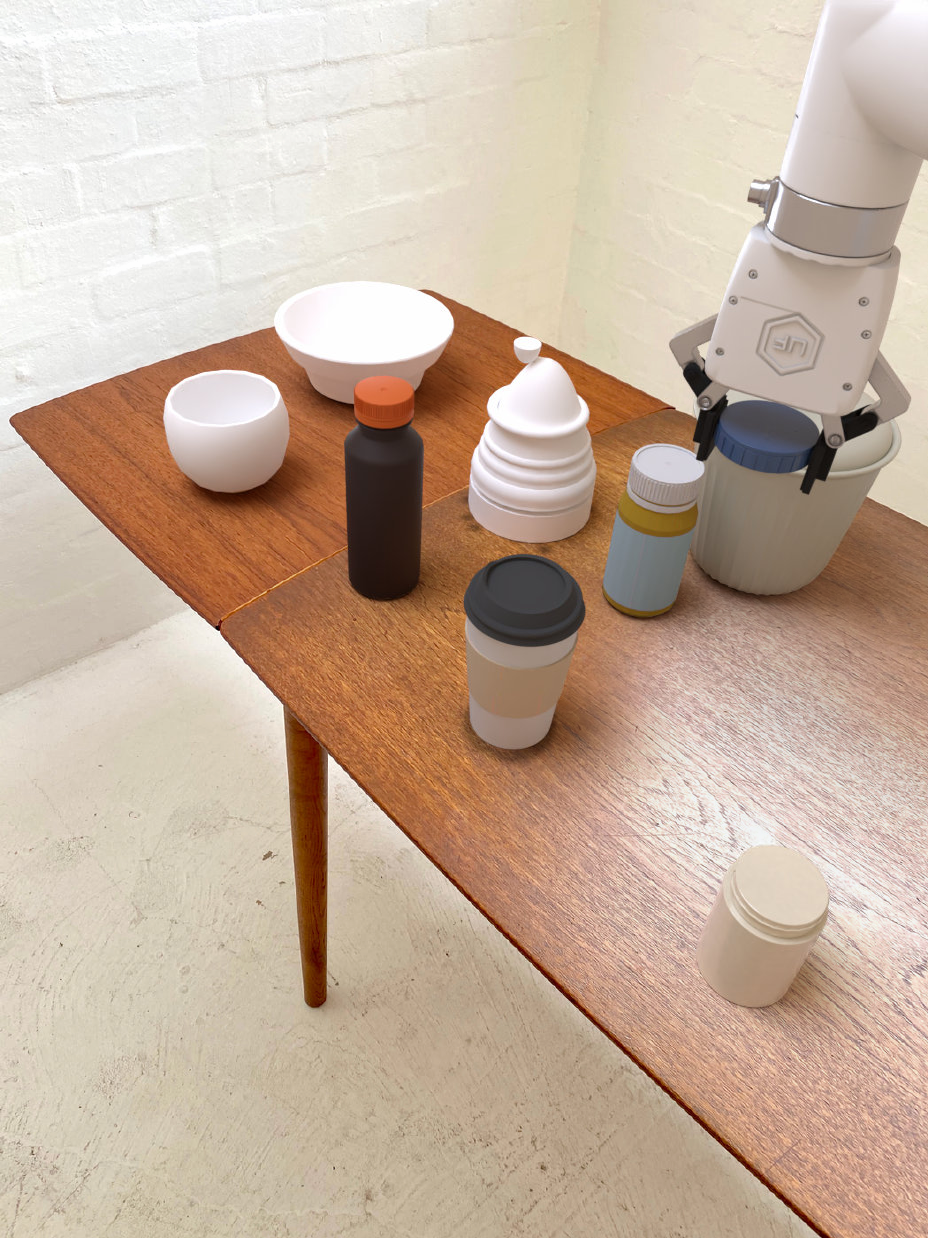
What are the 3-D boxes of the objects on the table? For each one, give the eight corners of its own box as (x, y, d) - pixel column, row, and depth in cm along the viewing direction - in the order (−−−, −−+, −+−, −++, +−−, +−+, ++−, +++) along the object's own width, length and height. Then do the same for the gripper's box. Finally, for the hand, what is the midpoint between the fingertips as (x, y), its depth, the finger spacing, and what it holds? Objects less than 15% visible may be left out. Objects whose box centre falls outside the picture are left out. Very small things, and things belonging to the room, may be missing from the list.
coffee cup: (574, 691, 83) (599, 554, 73) (552, 771, 77) (577, 632, 67) (472, 667, 85) (483, 529, 75) (442, 744, 78) (450, 604, 68)
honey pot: (452, 526, 100) (461, 365, 87) (487, 460, 109) (500, 306, 97) (575, 554, 97) (602, 393, 85) (601, 485, 106) (628, 330, 94)
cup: (312, 492, 103) (307, 410, 96) (199, 525, 97) (186, 442, 91) (264, 435, 110) (256, 356, 104) (157, 464, 105) (142, 383, 98)
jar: (801, 944, 67) (844, 865, 61) (779, 1025, 63) (824, 949, 56) (710, 904, 69) (743, 823, 62) (683, 980, 65) (716, 902, 58)
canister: (826, 645, 89) (909, 448, 75) (637, 584, 94) (680, 388, 80) (855, 538, 102) (931, 351, 87) (686, 489, 107) (732, 305, 92)
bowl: (350, 447, 109) (348, 381, 104) (245, 373, 120) (238, 309, 115) (486, 389, 120) (491, 327, 115) (379, 326, 131) (378, 266, 126)
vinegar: (388, 611, 90) (388, 420, 76) (333, 580, 92) (324, 390, 79) (434, 575, 94) (442, 388, 80) (380, 546, 97) (379, 361, 83)
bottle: (594, 610, 91) (620, 476, 81) (608, 566, 96) (634, 434, 86) (669, 628, 90) (705, 494, 80) (679, 582, 95) (714, 450, 85)
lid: (734, 409, 73) (740, 389, 71) (826, 441, 70) (833, 420, 69) (697, 451, 68) (703, 429, 67) (794, 486, 66) (801, 465, 64)
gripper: (675, 204, 58) (624, 457, 71) (979, 274, 53) (869, 534, 65) (711, 169, 63) (658, 410, 76) (992, 230, 58) (887, 479, 70)
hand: (756, 466), depth 70 cm, fingers closed on lid, 6 cm apart
